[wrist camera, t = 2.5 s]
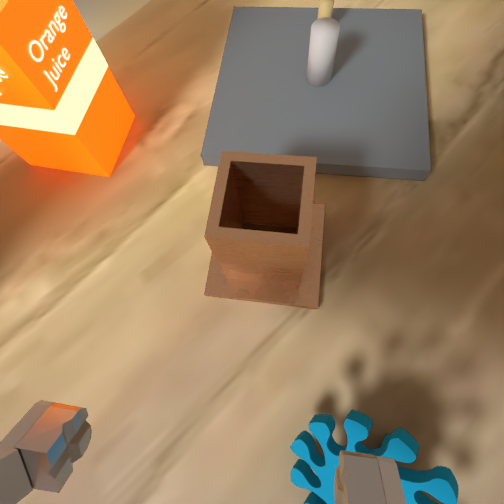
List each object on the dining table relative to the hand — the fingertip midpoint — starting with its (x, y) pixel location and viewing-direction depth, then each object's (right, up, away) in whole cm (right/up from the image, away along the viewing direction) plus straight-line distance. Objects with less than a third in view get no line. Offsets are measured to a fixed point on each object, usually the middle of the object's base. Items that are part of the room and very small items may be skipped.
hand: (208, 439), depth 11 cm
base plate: (+8, +23, +24) cm, 34 cm away
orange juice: (-16, +17, +24) cm, 33 cm away
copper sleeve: (+3, +6, +18) cm, 19 cm away
